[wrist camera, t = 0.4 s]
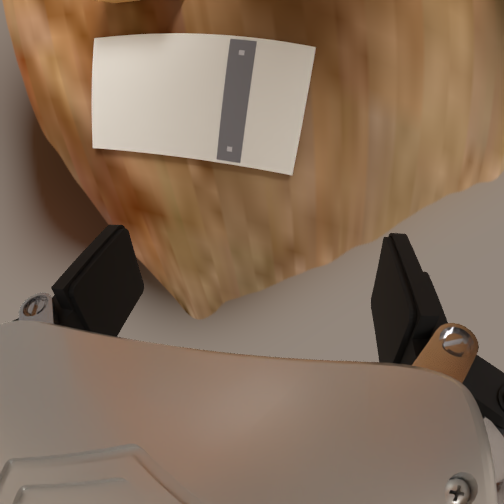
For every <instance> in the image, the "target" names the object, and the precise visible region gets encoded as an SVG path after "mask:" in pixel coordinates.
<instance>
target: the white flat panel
mask: <svg viewBox="0 0 504 504" xmlns="http://www.w3.org/2000/svg"><path fill="white" fill-rule="evenodd" d="M315 50H316V47H312V46H307V45H301V44H295V43H289V42H283V41H276V40H269V39H261V38H252V37H242V36H231V35H216V34H189V33H163V34H137V35H122V36H111V37H101V38H94V49H93V68H92V139H93V148H100V149H112V150H123V151H133V152H142V153H151V154H160V155H168V156H176V157H184V158H191V159H198V160H205V161H212V162H219V163H225V164H231V165H237V166H243V167H249V168H255V169H261V170H266V171H271V172H277V173H282V174H287V175H292V174H293V169H294V164H295V159H296V154H297V149H298V143H299V138H300V133H301V127H302V122H303V117H304V111H305V106H306V100H307V95H308V89H309V84H310V78H311V73H312V67H313V61H314V55H315Z"/></svg>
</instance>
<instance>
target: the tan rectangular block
mask: <svg viewBox="0 0 504 504" xmlns="http://www.w3.org/2000/svg"><path fill="white" fill-rule="evenodd" d="M96 1H103V2H110V3H121V2H129V1H139V0H96Z"/></svg>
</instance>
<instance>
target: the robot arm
mask: <svg viewBox="0 0 504 504" xmlns="http://www.w3.org/2000/svg"><path fill="white" fill-rule="evenodd" d="M52 290H53V292H54V294H55V295H54V296H53V298H52V297H51V295H49V294H48V293H38V294H35V295H33V296H31V297H30V298H28V299H27V300H26V301H25V302H24V303H23V304H22V306H21V307H20V311H19V318H18V319H16V320H14V321H12V322H7V323H3V324H1V325H0V504H504V373H503V372H502V371H500V370H499V369H497V368H496V367H494V366H493V365H491V364H490V363H488V362H487V361H485V360H484V359H482V358H481V357H479V356H478V355H477V352H478V348H479V346H478V341H477V339H476V337H475V335H474V334H473V333H472V332H471V331H470V330H469V329H467V328H466V327H465V326H462V325H460V324H455V323H448V322H447V320H446V317H445V314H444V311H443V309H442V306H441V304H440V301H439V299H438V296H437V294H436V291H435V289H434V286H433V284H432V281H431V279H430V277H429V275H428V273H427V272H423V271H422V269H421V266H420V264H419V262H418V259H417V257H416V255H415V253H414V250H413V248H412V246H411V244H410V241H409V239H408V237H407V235H406V234H398V233H390V234H389V237H384V239H383V244H382V249H381V254H380V260H379V264H378V270H377V274H376V279H375V284H374V288H373V293H372V297H371V309H372V315H373V321H374V327H375V334H376V341H377V347H378V355H379V362H358V361H330V360H311V359H294V358H280V357H266V356H255V355H244V354H235V353H225V352H216V351H208V350H199V349H192V348H184V347H177V346H170V345H164V344H157V343H151V342H144V341H138V340H132V339H127V338H121V337H117V335H118V334H119V332H120V330H121V328H122V327H123V325H124V323H125V322H126V320H127V318H128V316H129V315H130V313H131V311H132V310H133V308H134V306H135V305H136V303H137V301H138V300H139V298H140V296H141V295H142V293H143V290H144V283H143V280H142V277H141V273H140V270H139V267H138V263H137V260H136V256H135V253H134V249H133V246H132V242H131V238H130V235H129V231H128V230H127V229H125V227H124V226H123V225H108V226H107V227H106V228H105V229H104V230H103V231H102V232H101V233H100V234H99V235H98V236H97V237H96V238H95V240H94V241H93V242H92V243H91V244H90V245H89V246H88V247H87V248H86V249H85V250H84V251H83V252H82V253H81V255H80V256H79V257H78V258H77V259H76V260H75V261H74V262H73V263H72V265H71V266H70V267H69V268H68V269H67V270H66V271H65V273H63V275H62V276H61V277H60V278H59V279H58V280H57V282H56V283H55V284H54V285H53V286H52ZM448 480H449V481H448Z"/></svg>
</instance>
